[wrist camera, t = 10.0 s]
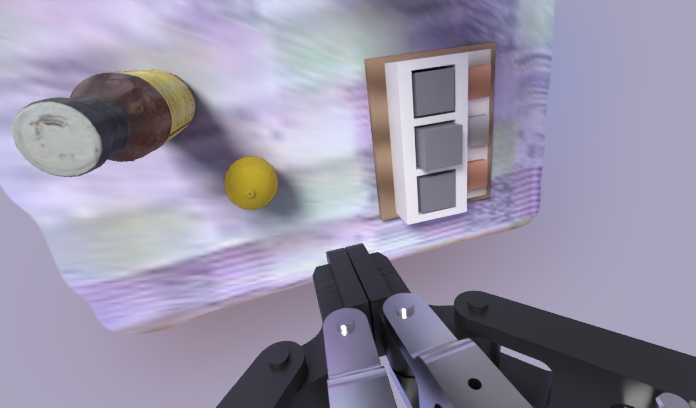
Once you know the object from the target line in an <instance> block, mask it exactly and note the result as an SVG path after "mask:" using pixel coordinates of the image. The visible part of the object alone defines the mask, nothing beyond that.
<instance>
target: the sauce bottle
mask: <svg viewBox="0 0 696 408" xmlns="http://www.w3.org/2000/svg"><path fill="white" fill-rule="evenodd" d="M195 111H196V104H195V98H194V94H193V92H192V90H191V89H190V88H189V87H188V85H187V84H186V83H185V82H184V81H183V80H182V79H180V78H179V77H178V76H176V75H173V74H171V73H168V72H165V71H160V70H143V71H124V72H111V73H102V74H97V75H94V76H91V77H89V78H87V79H85V80H83V81H82V82H81V83H80V84H78V85H77V87H76V88H75V89H74V90H73V92H72V94H71V96H70V98H60V97H59V98H49V99H44V100H41V101H37V102H33V103H31V104H29V105H27V106H26V107H24V108H23V109H22V110H21V111H20V112H19V113H18V114H17V115H16V116H15V119H14V121H13V125H12V133H13V138H14V141H15V144H16V146H17V148H18V149H19V150H20V152H21V153H22V155H23V156H24V157H25V158H26V159H27V160H28V161H29V162H30V163H31V164H32V165H34V166H35V167H37V168H38V169H40V170H42V171H44V172H47V173H49V174H52V175H56V176H63V177H73V176H81V175H83V174H86V173H88V172H90V171H92V170H94V169H96V168H98V167H100V166H101V165H102V164H104V163H105V161H106V160H107V159H108V160H113V161H117V162H119V161H120V162H123V161H134V160H135V159H138V158H141V157H144V156H145V155H147V154H149V153H150V152H152V151H154V150H156V149H158V148H159V147H161V146H162V145H164V144H165V143H166V142H168V141H169V140H170V139H172V138H173V137H174V136H176V135H177V134H178V133H180V132H181V131H182V130H184V129H185V128H186V127H187V126H188V125H189V124H190V121H192V120H193V118H194V115H195Z"/></svg>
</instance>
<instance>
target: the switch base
mask: <svg viewBox="0 0 696 408" xmlns="http://www.w3.org/2000/svg"><path fill="white" fill-rule="evenodd" d="M495 48H496V42H490V43H483V44H475V45H468V46H460V47H453V48H445V49H438V50H430V51H423V52H416V53H408V54H401V55H393V56H386V57H378V58H371V59H364V60H365V70H366V80H367V91H368V101H369V111H370V121H371V131H372V141H373V151H374V162H375V172H376V182H377V192H378V202H379V212H380V218H381V220H382V221H383V220H388V219H392V218H397V217H400V216H399V215H398V214H397V213H396V205H395V193H394V180H393V167H392V154H391V141H390V128H389V115H388V103H387V90H386V77H385V64H384V63H391V62H399V61H406V60H413V59H420V58H428V57H435V56H442V55H450V54H458V53H466V52H468V134H467V202H471V201H475V200H480V199H484V198H489V197H490V179H491V153H492V127H493V100H494V74H495ZM436 68H438V67H432V68H425V69H418V70H411V72H415V71H422V70H429V69H436Z"/></svg>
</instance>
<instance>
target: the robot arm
mask: <svg viewBox="0 0 696 408" xmlns="http://www.w3.org/2000/svg"><path fill="white" fill-rule="evenodd" d="M326 255H327V261H328V264H327V265H323V266H319V267H316V269H315V271H314V274H313V280H314V285H315V289H316V294H317V299H318V303H319V308H320V313H321V317H322V321H323V325H322V328H321V330H320V332H319V334H318V335H317V336H316V337H315V338H313V339H312V340H311V341H309V342H308V343H306V344H304V345H302V346H300V345H299V344H297V343H295V342H292V341H282V342H277V343H275V344H272V345H270V346H269V347H267V348H266V349H265V350H264V351H262V352H261V353H260V355H259V356H258V357H257V358H256V359H255V361H254V362H253V363H252V364H251V365H250V367H249V368H248V369H247V370H246V372H245V373H244V374H243V376H241V378H240V379H239V380H238V382H237V383H236V384H235V385H234V386H233V387H232V389H231V390H230V391H229V392H228V394H227V395H226V396H225V397H224V398H223V400H222V401H221V402H220V403H219V404H218V406H217V407H216V408H397V405H396V402H395V399H394V396H393V392H392V389H391V386H390V383H389V380H388V376H387V373H386V370H385V368H384V366H381V363H380V360H379V357H380V356H384V355H386V356H387V358H388V360H389V365H390V373H391V376H392V378H393V380H394V382H395V384H396V386H397V388H398V390H399V392H400V394H401V396H402V398H403V400H404V402H405V404H406V406H407V408H696V357H694V356H691V355H688V354H685V353H681V352H678V351H675V350H671V349H668V348H665V347H662V346H659V345H655V344H652V343H648V342H645V341H642V340H639V339H636V338H632V337H629V336H626V335H622V334H619V333H616V332H613V331H609V330H606V329H603V328H600V327H596V326H593V325H590V324H587V323H583V322H580V321H577V320H574V319H570V318H567V317H564V316H560V315H557V314H554V313H551V312H547V311H544V310H540V309H538V308H534V307H531V306H528V305H524V304H521V303H518V302H515V301H511V300H508V299H505V298H502V297H499V296H495V295H492V294H489V293H485V292H481V291H467V292H464V293H461V294H460V295H458V296H457V297H456V299H455V301H454V305H453V306H432V305H428V304H427V303H426V302H425V301H424V300H423V299H422V298H421V297H420V296H418V295H415V294H411V292H410V291H409V289H408V288H407V286H406V285H405V283H404V282H403V280H402V279H401V277H400V276H399V274H398V273H397V272H396V270H395V268H394V267H393V266H392V264H391V262H390V261H389V259H388V258H387V257H386V256H384V255H382V254H381V253H379V252H376V253H372V254H369V253H368V251H367V250H366V248H365V246H364V245H363V243H361V244H357V245H353V246H349V247H345V249H344V248H340V249H336V250H332V251H328V252H326ZM501 346H504V347H506V348H509V349H512V350H514V351H517V352H519V353H522V354H524V355H527V356H529V357H532V358H535V359H537V360H540V361H542V362H543V363H545V364H546V365H547V366H548V367H549V368H550V369H551V370H552V371H546V370H544V369H541V368H539V367H536V366H534V365H531V364H529V363H526V362H523V361H521V360H519V359H516V358H514V357H511V356H509V355H506V354H504V353H501V352H500V349H501Z"/></svg>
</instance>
